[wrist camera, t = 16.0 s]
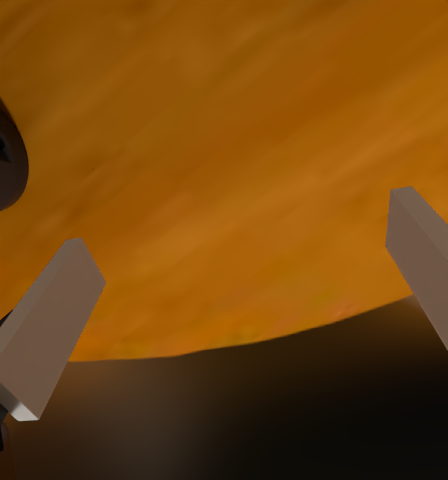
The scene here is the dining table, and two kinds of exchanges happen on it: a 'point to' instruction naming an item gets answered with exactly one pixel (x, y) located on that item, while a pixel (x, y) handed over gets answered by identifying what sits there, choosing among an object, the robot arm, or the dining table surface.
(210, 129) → the dining table surface
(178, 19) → the dining table surface
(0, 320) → the robot arm
